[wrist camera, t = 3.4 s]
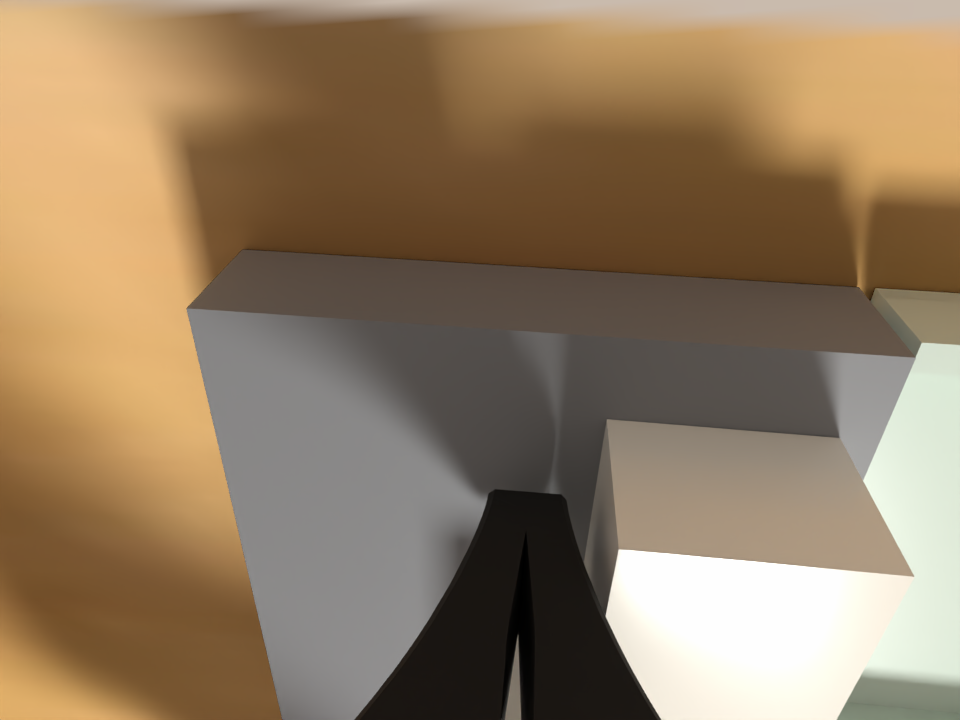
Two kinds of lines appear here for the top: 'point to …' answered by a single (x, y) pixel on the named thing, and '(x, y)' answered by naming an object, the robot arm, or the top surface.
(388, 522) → the plate
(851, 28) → the top surface
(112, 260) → the top surface
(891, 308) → the tray
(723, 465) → the block
